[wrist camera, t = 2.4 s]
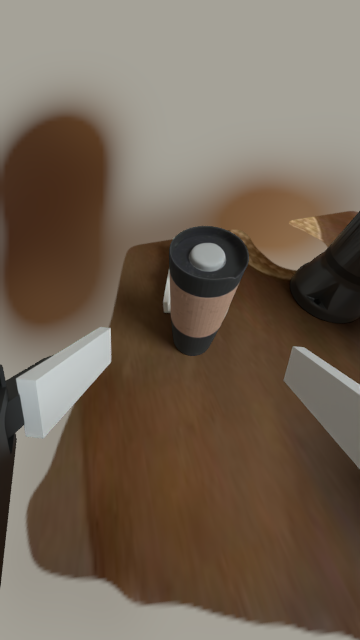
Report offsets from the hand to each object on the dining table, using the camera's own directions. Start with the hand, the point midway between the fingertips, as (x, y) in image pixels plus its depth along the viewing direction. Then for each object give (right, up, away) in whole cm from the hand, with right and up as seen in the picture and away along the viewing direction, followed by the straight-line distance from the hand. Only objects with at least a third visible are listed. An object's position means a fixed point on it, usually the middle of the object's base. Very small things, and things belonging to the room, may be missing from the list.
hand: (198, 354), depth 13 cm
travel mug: (+1, -1, +21) cm, 21 cm away
